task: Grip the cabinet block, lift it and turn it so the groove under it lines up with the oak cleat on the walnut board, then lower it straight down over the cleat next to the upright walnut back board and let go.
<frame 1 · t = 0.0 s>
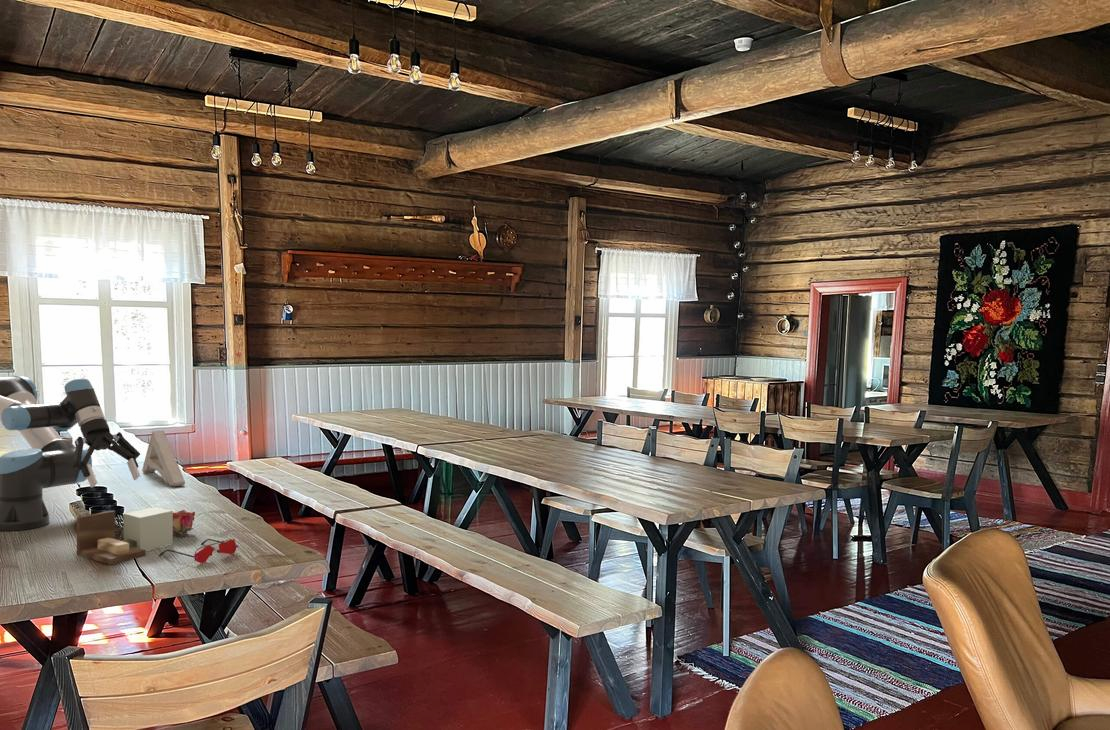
hand: (116, 481, 242), 15 cm above the table, tool tilted 35°, fingers open, 13 cm apart
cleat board: (111, 554, 218), on the table
flower: (179, 535, 240), on the table
glasses: (199, 556, 221), on the table
cabinet block: (148, 545, 228), on the table
wooden letter a: (162, 480, 318), on the table
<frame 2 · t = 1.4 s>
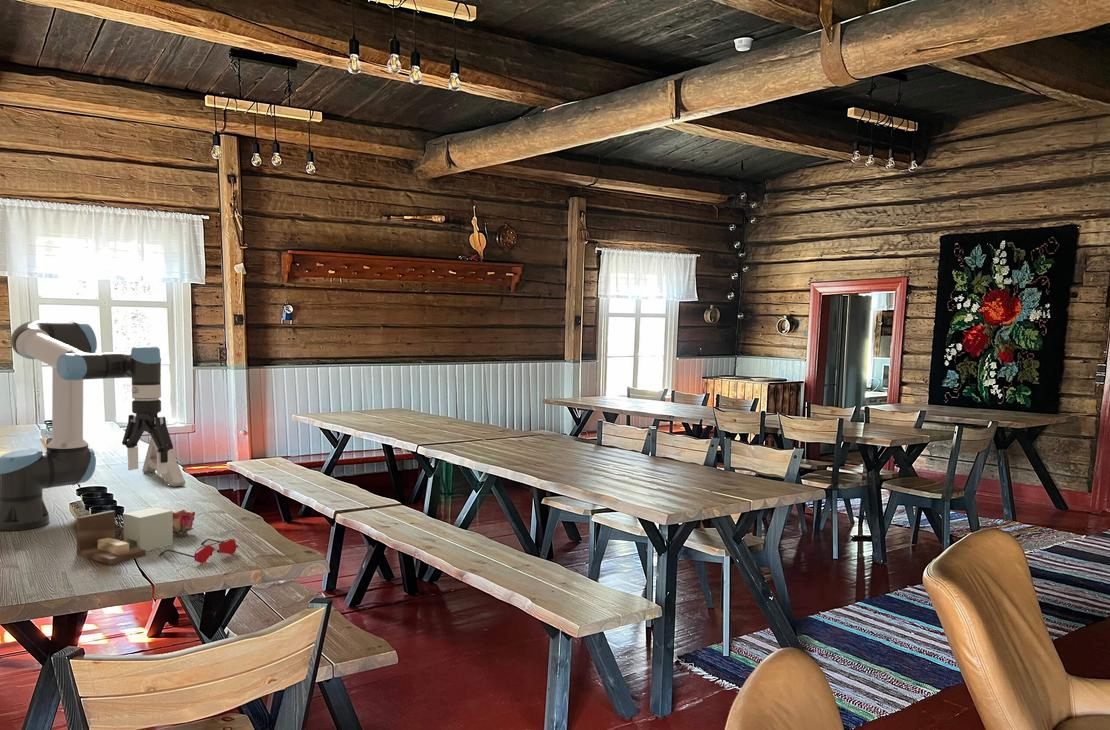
hand: (147, 471, 227), 22 cm above the table, tool pointing down, fingers open, 13 cm apart
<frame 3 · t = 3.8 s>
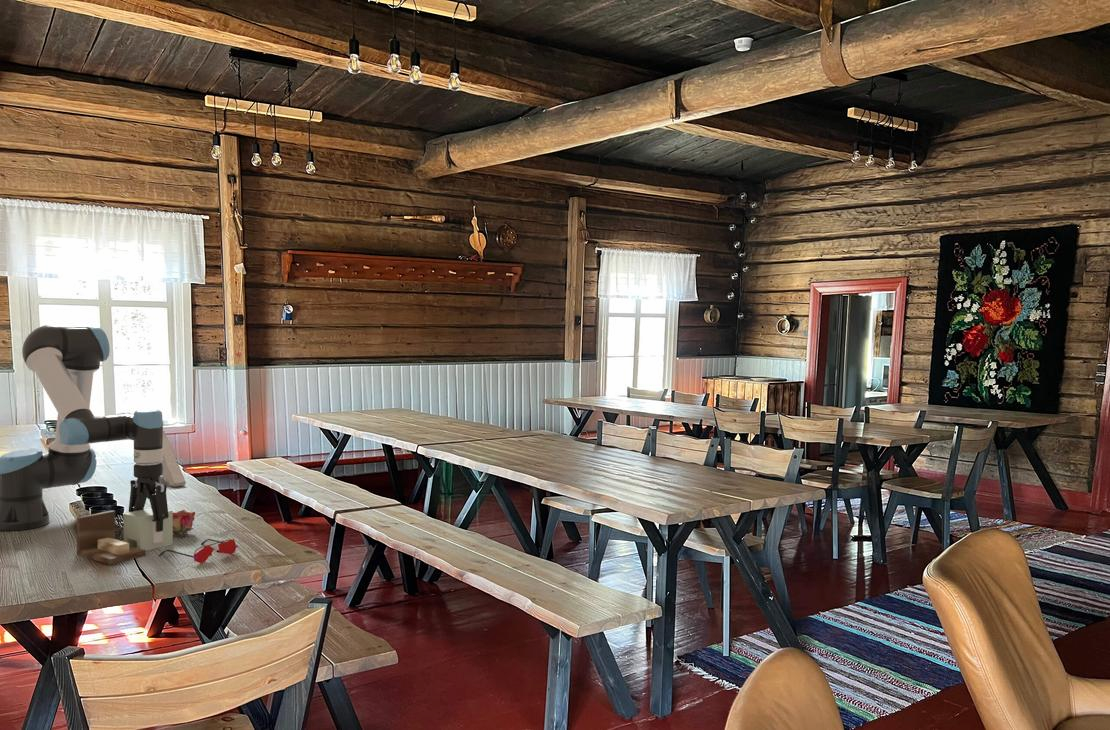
hand: (148, 539, 228), 2 cm above the table, tool pointing down, fingers closed on cabinet block, 8 cm apart
cabinet block: (148, 545, 228), on the table, touching gripper
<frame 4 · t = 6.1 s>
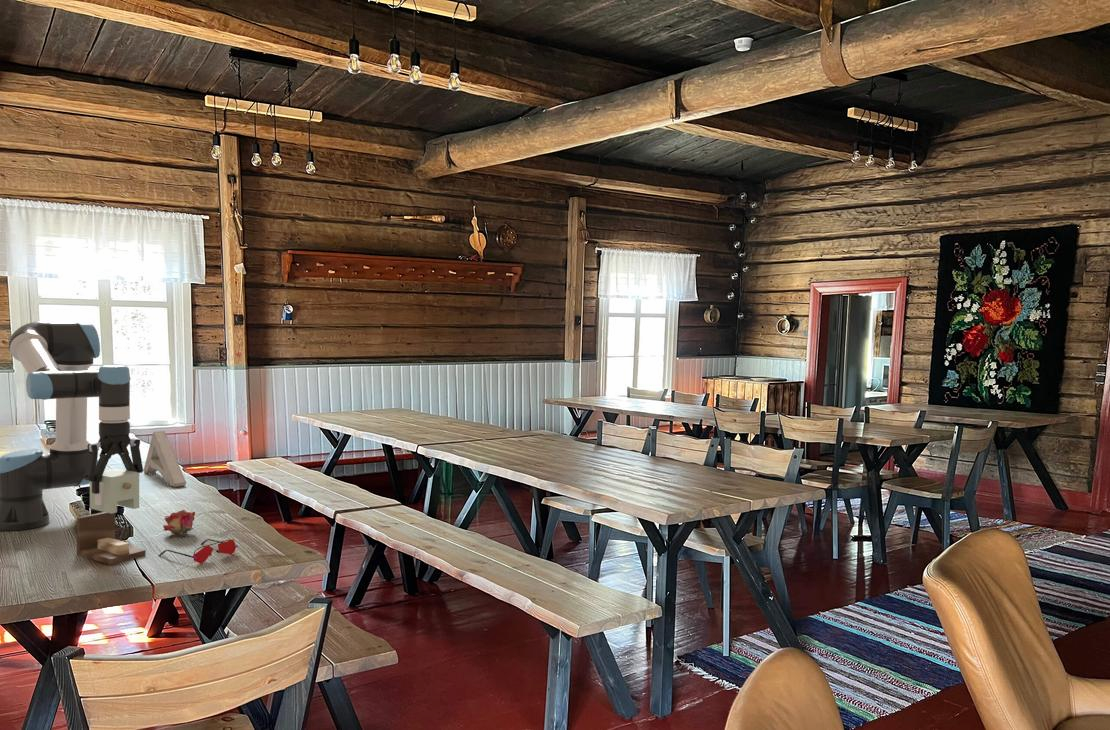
hand: (114, 501, 217), 15 cm above the table, tool pointing down, fingers closed on cabinet block, 8 cm apart
cabinet block: (114, 508, 218), point 13 cm above the table, touching gripper
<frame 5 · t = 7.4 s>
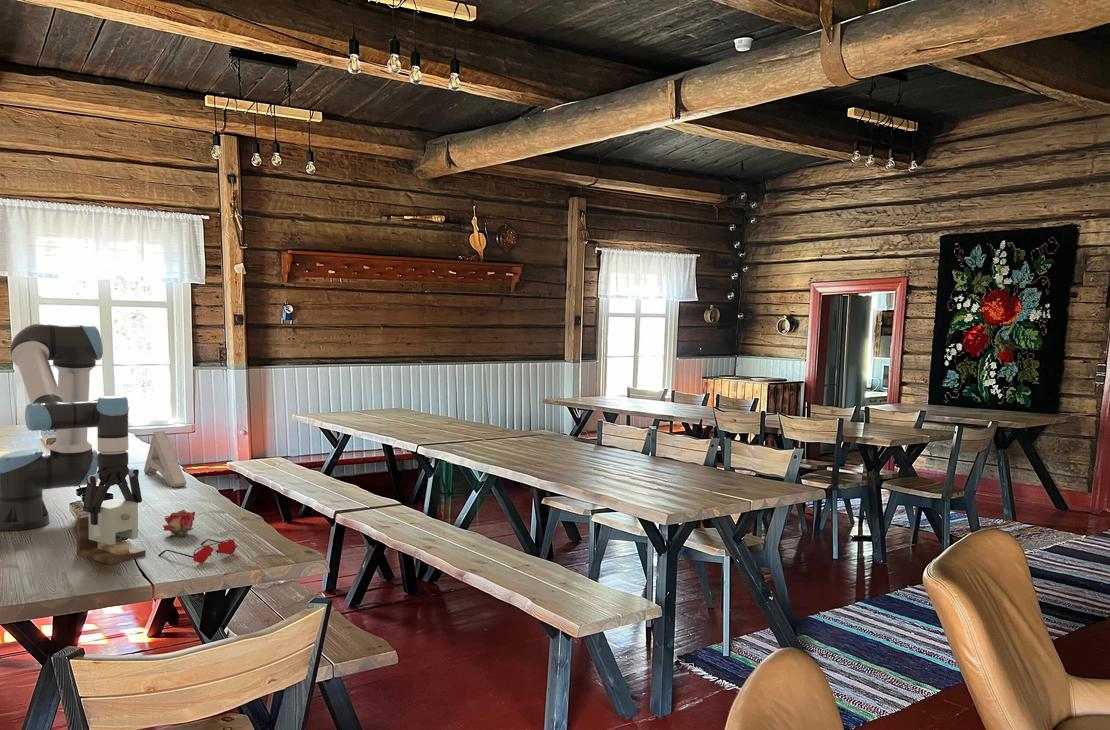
hand: (113, 532, 217), 7 cm above the table, tool pointing down, fingers closed on cabinet block, 8 cm apart
cabinet block: (113, 538, 218), point 5 cm above the table, touching gripper
when the fingers open (4 cm above the table, at t = 8.3 s): cabinet block stays where it is, resting on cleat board.
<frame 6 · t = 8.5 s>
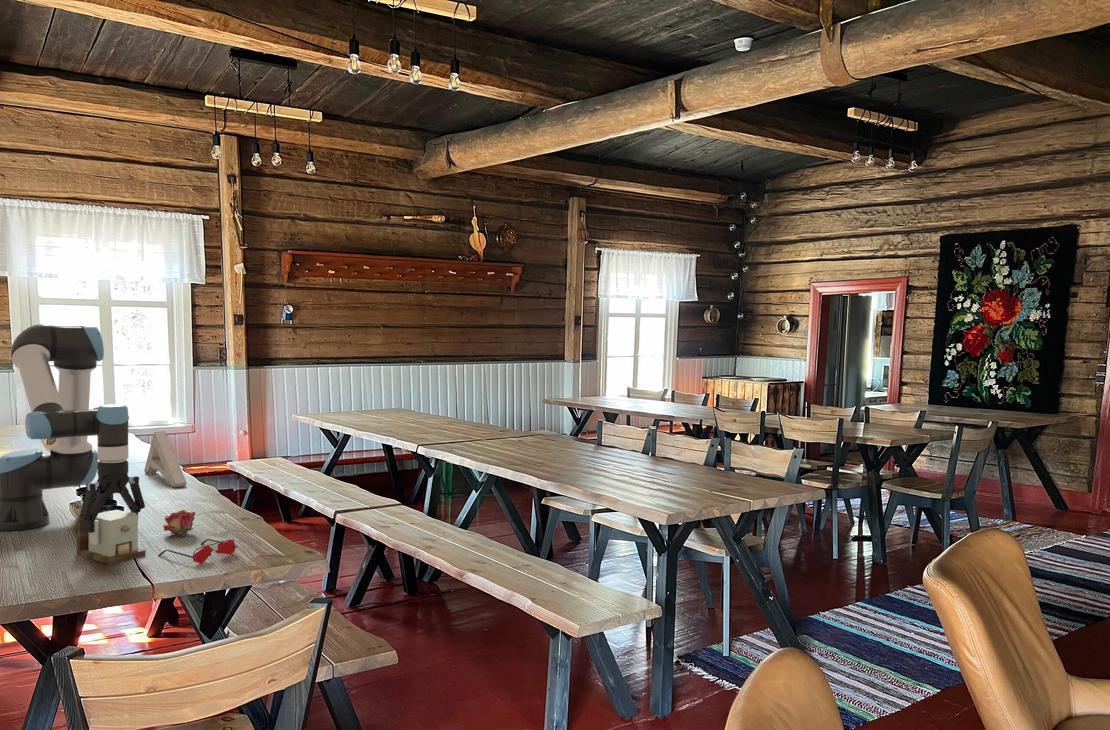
hand: (113, 539, 218), 5 cm above the table, tool pointing down, fingers open, 10 cm apart
cabinet block: (113, 550, 218), point 1 cm above the table, touching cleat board
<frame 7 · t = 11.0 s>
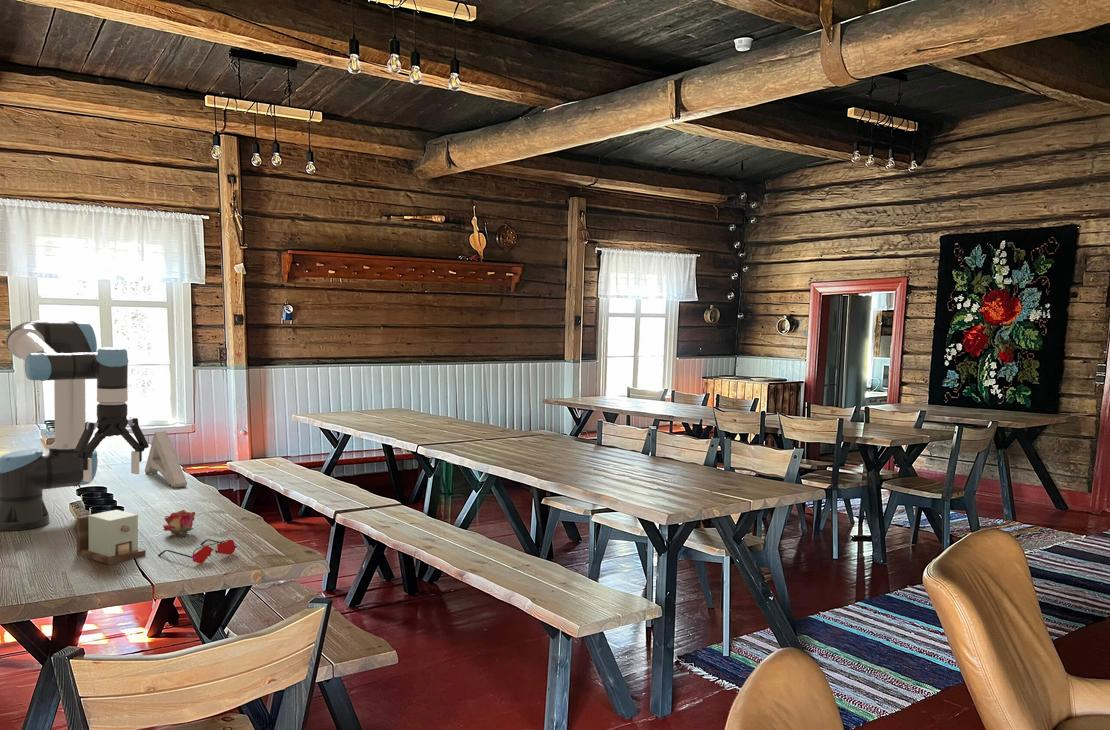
hand: (112, 477, 220), 21 cm above the table, tool pointing down, fingers open, 13 cm apart
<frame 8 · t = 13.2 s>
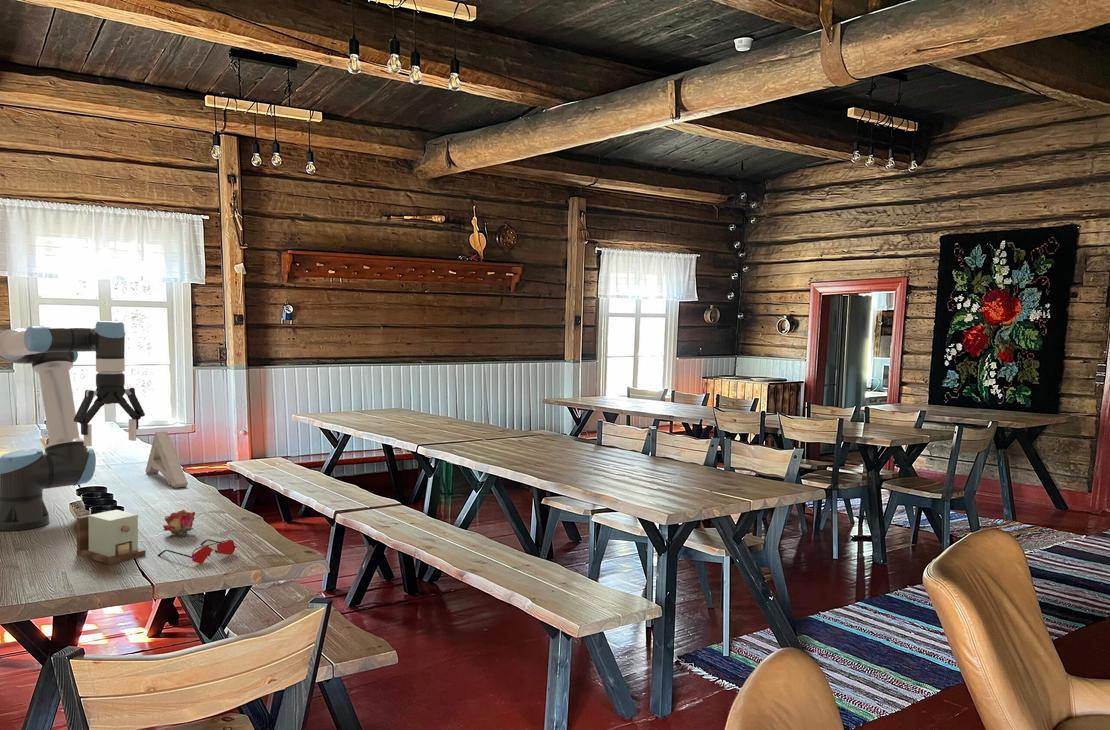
hand: (110, 443, 234), 29 cm above the table, tool pointing down, fingers open, 13 cm apart
at the end: cabinet block inside the target area on the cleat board (0.0 cm from its centre), point 1.5 cm above the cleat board's base; cabinet block tilted 0°; the gripper is holding nothing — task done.
